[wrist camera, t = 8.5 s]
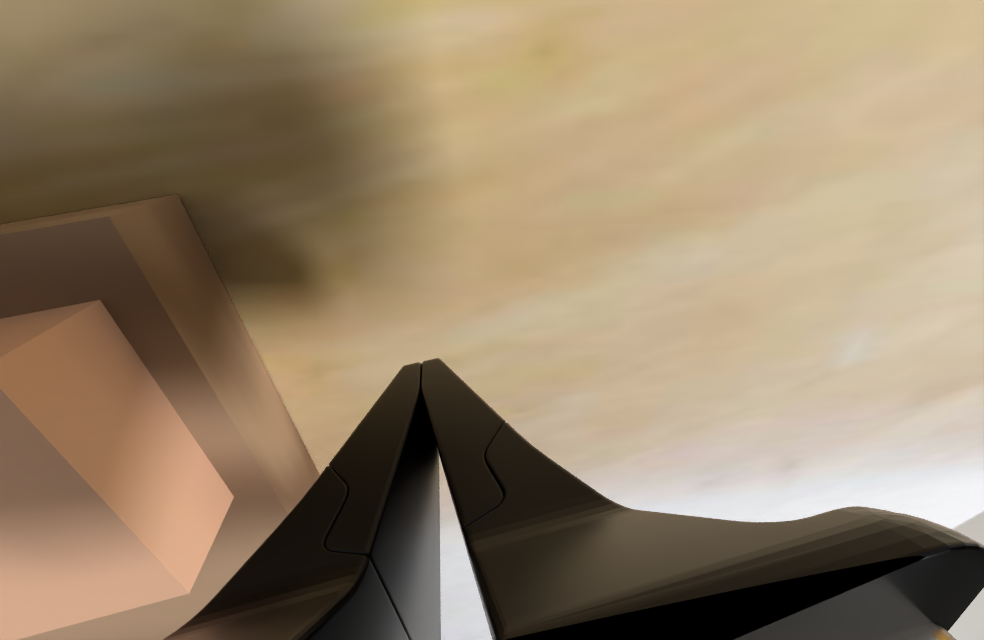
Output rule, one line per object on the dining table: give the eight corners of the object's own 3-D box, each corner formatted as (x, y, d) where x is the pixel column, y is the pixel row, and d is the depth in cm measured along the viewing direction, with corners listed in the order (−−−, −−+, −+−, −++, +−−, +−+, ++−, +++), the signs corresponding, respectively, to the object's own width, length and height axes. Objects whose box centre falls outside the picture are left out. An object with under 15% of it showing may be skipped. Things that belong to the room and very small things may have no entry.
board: (368, 571, 17) (362, 638, 15) (68, 654, 16) (13, 740, 14) (178, 194, 9) (108, 215, 7) (-426, 295, 8) (-727, 359, 6)
